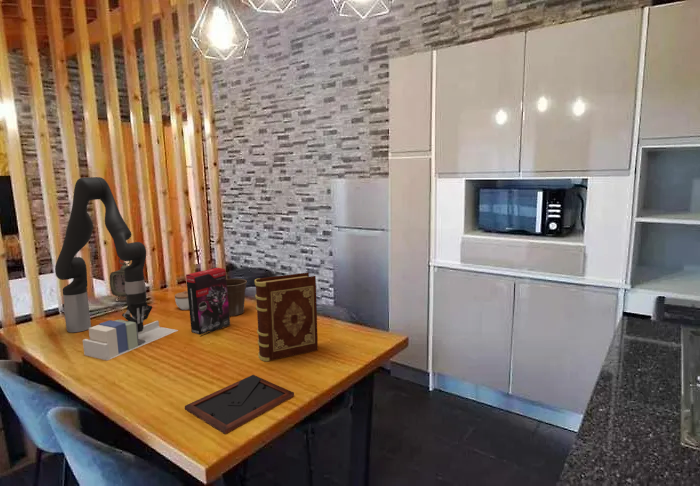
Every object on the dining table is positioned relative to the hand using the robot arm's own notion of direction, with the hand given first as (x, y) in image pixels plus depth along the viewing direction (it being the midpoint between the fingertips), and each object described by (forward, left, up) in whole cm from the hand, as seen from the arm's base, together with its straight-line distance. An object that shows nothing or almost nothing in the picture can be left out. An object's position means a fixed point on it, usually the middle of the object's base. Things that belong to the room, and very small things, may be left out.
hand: (139, 331), depth 175 cm
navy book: (0, -11, -4) cm, 12 cm away
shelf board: (0, -2, -5) cm, 6 cm away
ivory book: (0, -16, -4) cm, 16 cm away
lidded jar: (-19, +44, -5) cm, 48 cm away
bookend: (0, -3, -3) cm, 5 cm away
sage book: (0, -7, -4) cm, 8 cm away
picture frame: (+70, -22, -6) cm, 74 cm away
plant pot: (+9, +47, -5) cm, 48 cm away
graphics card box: (+17, +23, -5) cm, 29 cm away
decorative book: (+63, +15, -5) cm, 65 cm away
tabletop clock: (-62, +43, -5) cm, 76 cm away
